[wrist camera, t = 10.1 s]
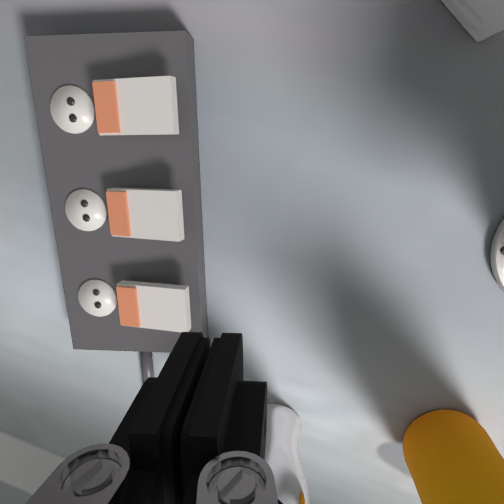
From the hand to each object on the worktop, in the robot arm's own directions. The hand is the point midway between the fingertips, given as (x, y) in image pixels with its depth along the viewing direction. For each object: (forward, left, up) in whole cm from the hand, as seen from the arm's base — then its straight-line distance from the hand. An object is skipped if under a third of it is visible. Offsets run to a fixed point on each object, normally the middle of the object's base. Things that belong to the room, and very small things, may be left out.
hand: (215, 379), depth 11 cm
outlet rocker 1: (+11, 0, -25) cm, 27 cm away
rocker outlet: (+11, -9, -25) cm, 28 cm away
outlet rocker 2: (+11, +9, -25) cm, 28 cm away
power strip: (+13, +4, -29) cm, 32 cm away
